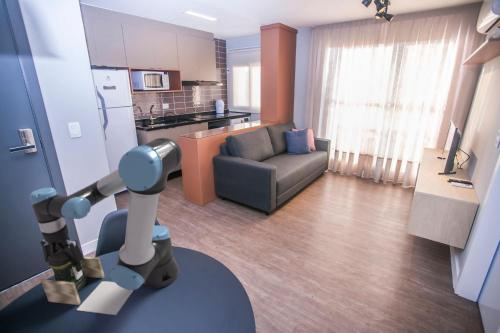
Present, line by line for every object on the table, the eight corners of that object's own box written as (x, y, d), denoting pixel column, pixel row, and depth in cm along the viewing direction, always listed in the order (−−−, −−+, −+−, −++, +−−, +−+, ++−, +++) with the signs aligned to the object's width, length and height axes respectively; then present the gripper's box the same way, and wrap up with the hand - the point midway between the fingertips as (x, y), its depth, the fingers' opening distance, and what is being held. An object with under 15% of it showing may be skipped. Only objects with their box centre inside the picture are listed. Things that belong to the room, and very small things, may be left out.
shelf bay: (104, 276, 108) (99, 257, 104) (78, 304, 94) (72, 284, 91) (75, 273, 110) (69, 255, 106) (46, 301, 96) (38, 281, 93)
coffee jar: (72, 298, 97) (59, 260, 91) (55, 296, 98) (41, 258, 92) (91, 280, 106) (80, 243, 100) (75, 278, 107) (63, 242, 101)
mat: (137, 284, 103) (137, 284, 103) (116, 315, 90) (115, 314, 90) (102, 281, 105) (102, 281, 105) (76, 310, 92) (76, 309, 92)
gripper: (86, 224, 94) (99, 271, 102) (39, 220, 97) (55, 267, 105) (70, 235, 87) (86, 285, 95) (20, 232, 90) (38, 280, 98)
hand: (70, 275), depth 100 cm, fingers closed on coffee jar, 8 cm apart
